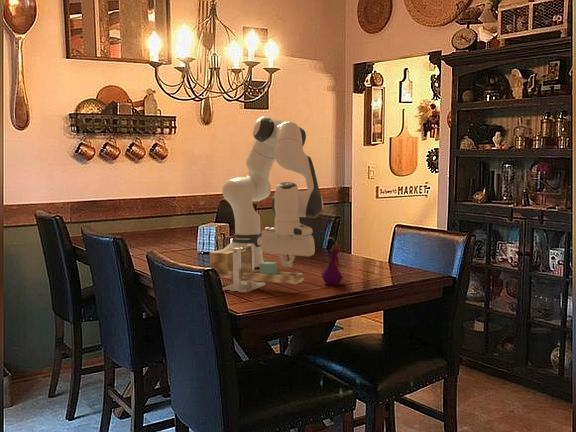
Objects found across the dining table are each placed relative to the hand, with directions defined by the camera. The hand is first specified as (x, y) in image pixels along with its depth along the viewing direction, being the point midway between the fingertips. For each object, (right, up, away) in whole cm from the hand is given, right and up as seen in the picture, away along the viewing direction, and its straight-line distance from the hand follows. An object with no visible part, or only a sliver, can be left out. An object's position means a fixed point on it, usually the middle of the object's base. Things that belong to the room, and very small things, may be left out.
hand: (287, 267), depth 235 cm
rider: (-7, -4, +4) cm, 9 cm away
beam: (-12, -5, +7) cm, 14 cm away
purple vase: (+17, -8, +14) cm, 23 cm away
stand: (-16, -8, +10) cm, 20 cm away
